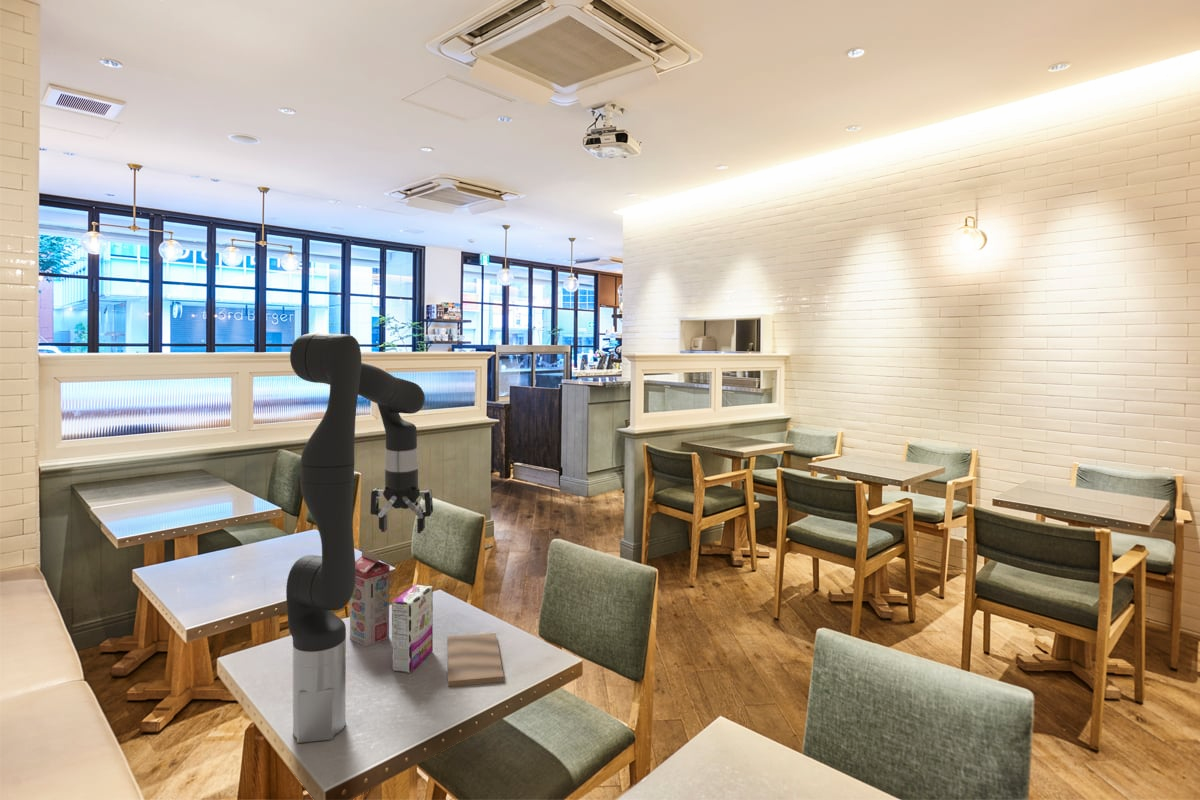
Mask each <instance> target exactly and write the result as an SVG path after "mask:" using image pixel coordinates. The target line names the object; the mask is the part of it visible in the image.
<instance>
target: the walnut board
mask: <svg viewBox="0 0 1200 800" xmlns="http://www.w3.org/2000/svg"><path fill="white" fill-rule="evenodd" d="M446 642H447V645H446V646H447V648H446V649H447V687H457V686H458V687H459V686H470V685H471V686H472V685H481V684H491V683H501V682H502V681H504V678H505V676H504V671H503V666H502V661H501V659H502V658H501V654H500V649H499V644H498V638H497V633H495V632H494V633H482V634H481V633H479V634H467V635H454V636H453V635H451V636H447V641H446Z"/></svg>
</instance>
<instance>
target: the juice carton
mask: <svg viewBox="0 0 1200 800" xmlns="http://www.w3.org/2000/svg"><path fill="white" fill-rule="evenodd" d="M355 566H356V580H355V587H354V591H353V595H352V597H351V599H350V601H349V639H350V640H351V641H353V642H355V643H357V644H359V645H361V646H363V647H365V648H366V647H369V646H371V645H374V644H377V643H379V642H382V641H384V640H386V639H390V570H391V569H390V568H391V567H390V565H389V564H388V563H385V562H381V561H380V555H379V554H376V553H373V552H370V551H367V550H366V549H362V550H361V556H360V557H359V558H358V559H357V560H355Z"/></svg>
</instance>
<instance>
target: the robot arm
mask: <svg viewBox="0 0 1200 800" xmlns="http://www.w3.org/2000/svg"><path fill="white" fill-rule="evenodd" d="M289 353H290V354H289V356H290V357H289V360H290V365H291V368H292V370H293V371H294V373H295V375H296V376H298V378H300V379H302V380H303V381H307V382H310V383H316V384H317V383H319V384H325V385H329V394H328V400H327V401H328V403H327V406H326V410H325V413H324V416H322V419H321V421H320V422H319V424H318V425H317V427H316V428H315V429H314V431H313V433H312V434H311V436H310V437H309V438H308V440H307V442H306V443H305V446H304V447H303V450H302V453H301V456H300V481H299V482H300V484H299V485H300V492H301V496H302V499H303V501H304V503H305V505H306V508H307V509H308V512H309V514H310V516H311V517H312V519H313V521H314V523H315V525H316V528H317V531H318V534H319V537H320V543H321V556H320V555H313V554H309V555H304V556H302V557H300V558H298V559H297V560H296V561H295V562H294V563H293V565H292V567H290V568H291V569H290V570H289V573H288V575H287V580H286V586H285V587H286V588H285V589H286V592H285V593H286V597H285V598H286V611H287V612H286V613H287V627H288V631H289V634H290V636H291V637H292V729H293V730H292V733H293V736H294V737H295V739H296V742H297V743H298V744H300V743H310V742H319V741H320V742H321V741H329V740H333V739H334V737H335V736H336V735H337V734H339V733H340V732H341V731H342V730H344V727H346V721H347V720H346V718H347V717H346V716H347V715H346V714H347V713H346V708H347V706H346V704H347V703H346V699H347V698H346V684H347V683H346V677H347V676H346V671H347V670H346V661H347V659H346V657H347V656H346V652H347V651H346V650H347V644H346V642H347V641H346V640H347V630H346V629H347V628H346V627H347V626H346V623H345V621H344V620H343V619H341V618H340V617H339V616H338V615H336V614H335V613H334V611H339V610H342V609H343V608H345V607H346V606H347V605H348V604H349V603H350V599H351V597H352V595H353V591H354V587H355V580H356V566H355V561H356V555H355V542H354V526H353V525H354V511H353V510H354V509H353V508H354V486H355V485H354V484H355V440H356V439H355V438H356V437H355V436H356V415H357V405H358V399H359V396H360V397H362V398H364V399H366V400H368V401H371V402H373V403H375V404H377V408H378V411H379V414H380V418H381V420H382V423H383V428H384V431H385V453H384V489H380V488H379V487H375V488H374V489H373V490H372V491H371V493H370V511H369V512H370V515H372V516H374V515H375V516H377V517H378V528H379V530H381V533H385V532H386V531H387V529H388V514H387V512H388V511H389V510H390V508H391V507H392V508H394V509H403V510H406V509H410V510H411V511H412V513H414V514H415V515H416V516H417V520H416V522H417V523H416V525H417V526H416V527H417V530H416V531H417V534H421V533H422V532H424V530H425V528H426V517H427V518H428V517H431V516H432V514H433V512H434V505H433V503H434V501H433V491H432V489H430V488H428V489H427V490H421V489H420V487H419V455H418V444H417V443H418V439H417V438H418V437H417V435H418V432H417V431H418V430H417V427H416V424H414V423H412V422H410V421H407V420H405V419H402V417H401V415H400V414H407V415H408V414H409V415H410V414H412V415H413V414H415V413H417V412H420V411H421V410H422V409H423V407H424V405H425V402H426V396H425V393H424V390H423V388H422V387H421V386H420V384H417V383H415V382H413V381H410V380H407V379H404V378H400V377H396V376H395V375H392V374H390V373H389V372H387V371H385V370H383V369H382V368H379V367H377V366H374V365H372V364H367V363H364V362H362V351H361V346H360V343H359V341H358V340H357V339H356V338H355V337H354V336H353V335H351V334H345V333H324V332H323V333H320V332H319V333H318V332H313V333H310V332H309V333H306V334H303V335H300V336H298V337H297V338H296V339H295V341H294V342H293V344H292V345H291V349H290V352H289ZM382 496H383V497H384V498H385V500H386V501H387V502H386V504H385V505H384V506H383V507H382V508H379V507H380V499H381V498H382ZM419 497H421V499H422V501H424V508H423V507H422V504H421V503H420V502H419V500H418V498H419Z"/></svg>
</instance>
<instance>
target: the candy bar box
mask: <svg viewBox="0 0 1200 800" xmlns="http://www.w3.org/2000/svg"><path fill="white" fill-rule="evenodd" d="M433 587H434V586H432V585H425V584H414V585H413V586H411V587H410V588H409V589H407V590H406V591H404V592H403V593H401V595H400V596H397V598H395V599H394V600H392V601H391V631H392V632H391V644H392V645H391V647H392V652H391V653H392V654H391V655H392V656H391V661H392V664H391V665H392V667H391V668H392V671H393V670H395V671H394V672H397V671H400V673H406V674H412V672H413V671H415V670H416V669H417V668H418V666H420V664H422V663H423V662H424V660H425V659H427V657H429V655H431V653H432V652H433V651H434V650H433V649H434V648H433V647H434V646H433V637H434V636H433V635H434V634H433V622H434V621H433V616H434V615H433V592H434V591H433V590H434V589H433Z"/></svg>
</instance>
